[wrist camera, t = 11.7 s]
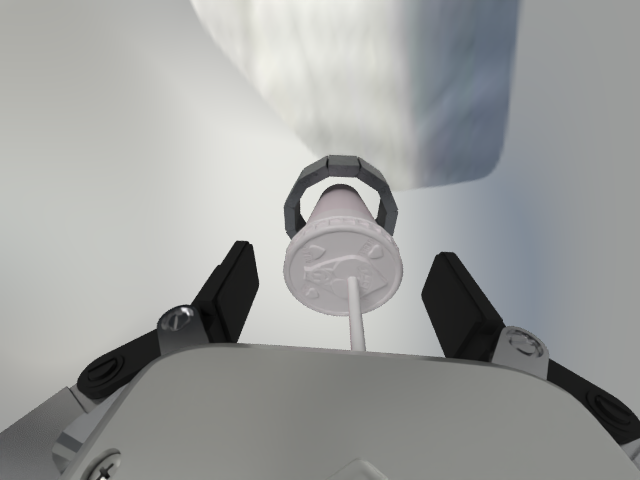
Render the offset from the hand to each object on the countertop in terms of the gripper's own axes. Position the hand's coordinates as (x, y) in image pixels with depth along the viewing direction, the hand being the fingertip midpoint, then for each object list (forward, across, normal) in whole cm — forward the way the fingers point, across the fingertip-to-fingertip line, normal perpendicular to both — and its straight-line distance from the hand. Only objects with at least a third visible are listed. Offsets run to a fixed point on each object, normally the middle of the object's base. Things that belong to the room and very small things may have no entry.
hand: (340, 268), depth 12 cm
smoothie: (+10, 0, +1) cm, 10 cm away
